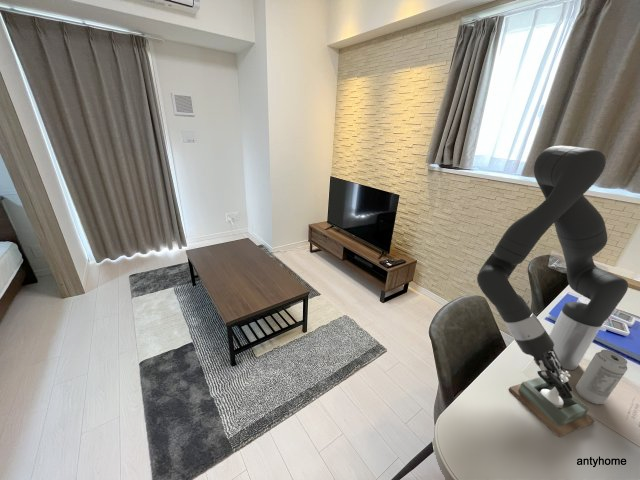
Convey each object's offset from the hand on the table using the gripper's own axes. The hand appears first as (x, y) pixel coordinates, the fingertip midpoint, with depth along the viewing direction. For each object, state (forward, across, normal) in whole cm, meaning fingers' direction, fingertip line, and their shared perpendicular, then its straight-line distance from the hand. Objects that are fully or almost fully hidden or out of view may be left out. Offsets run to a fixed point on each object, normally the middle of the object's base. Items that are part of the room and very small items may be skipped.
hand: (567, 393), depth 66 cm
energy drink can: (+9, +12, 0) cm, 15 cm away
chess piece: (+1, 0, +4) cm, 5 cm away
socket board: (+3, 0, +6) cm, 7 cm away
